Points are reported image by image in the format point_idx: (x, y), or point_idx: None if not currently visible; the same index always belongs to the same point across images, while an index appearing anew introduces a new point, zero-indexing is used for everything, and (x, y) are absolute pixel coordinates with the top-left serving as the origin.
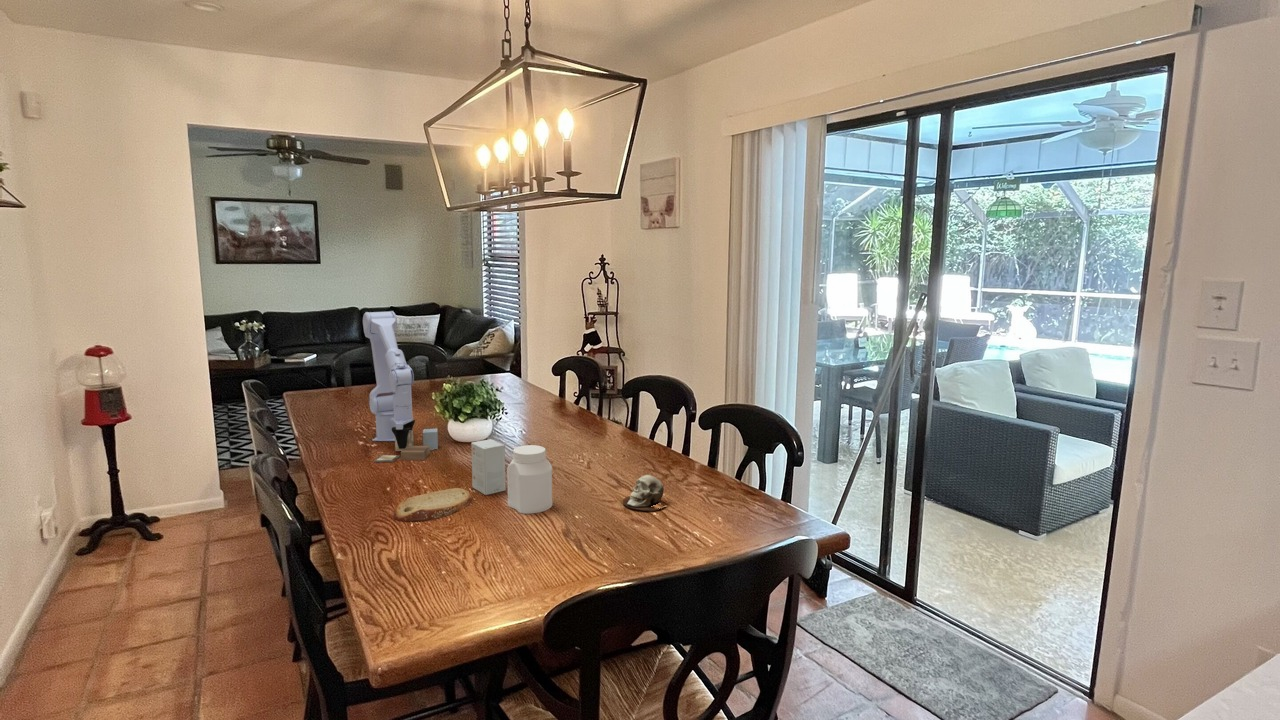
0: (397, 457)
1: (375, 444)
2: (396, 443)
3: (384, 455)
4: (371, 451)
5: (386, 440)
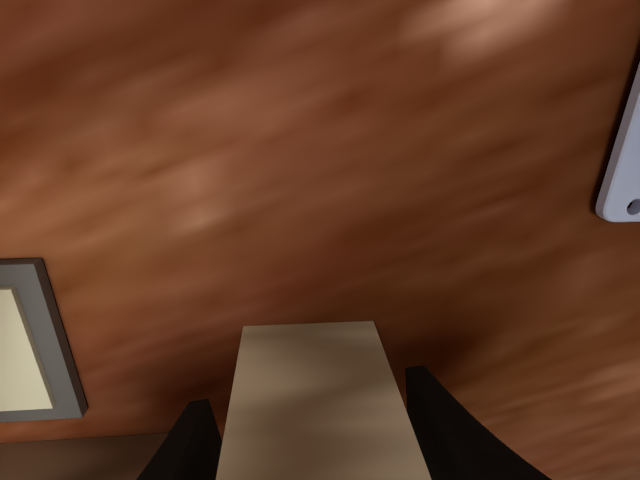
0: (20, 420)
1: (524, 15)
2: (234, 396)
3: (18, 311)
4: (217, 79)
5: (627, 119)
